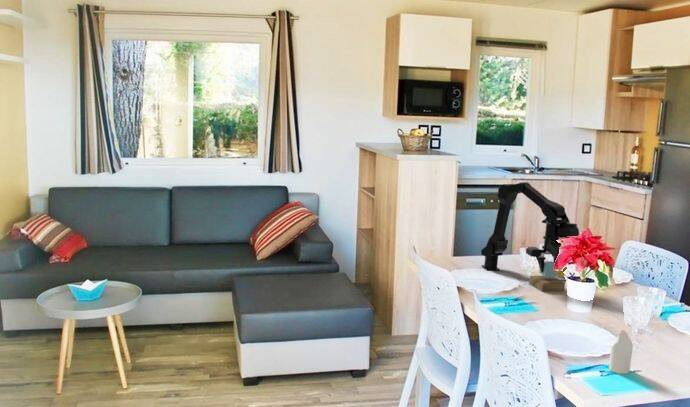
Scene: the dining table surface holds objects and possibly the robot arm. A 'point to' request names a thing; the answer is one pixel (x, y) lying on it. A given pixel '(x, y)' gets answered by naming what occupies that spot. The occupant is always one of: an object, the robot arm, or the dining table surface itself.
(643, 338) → the dining table surface
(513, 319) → the dining table surface
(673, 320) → the dining table surface
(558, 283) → the walnut block
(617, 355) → the beige bottle
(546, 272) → the teal cube
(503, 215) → the robot arm
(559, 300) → the dining table surface
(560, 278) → the supplement bottle
